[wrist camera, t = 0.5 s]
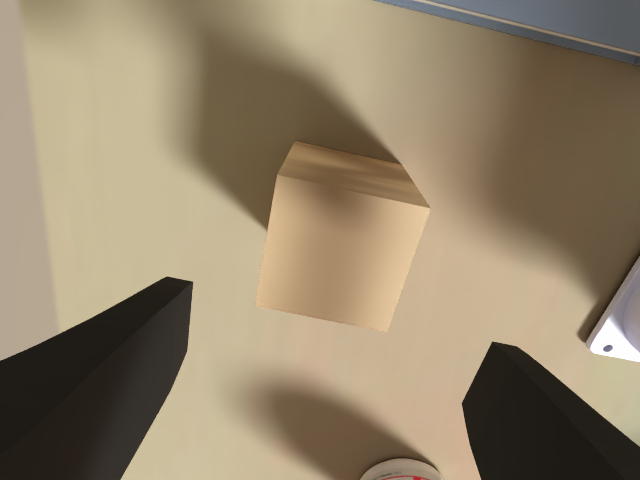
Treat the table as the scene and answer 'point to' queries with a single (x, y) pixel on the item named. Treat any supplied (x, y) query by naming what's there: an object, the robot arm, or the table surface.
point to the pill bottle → (402, 471)
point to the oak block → (340, 237)
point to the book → (551, 21)
